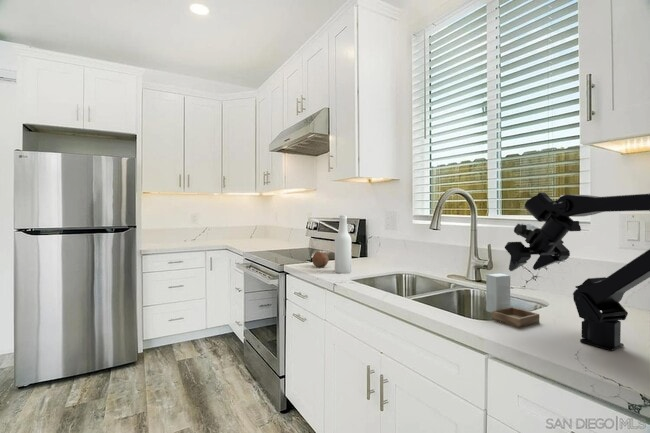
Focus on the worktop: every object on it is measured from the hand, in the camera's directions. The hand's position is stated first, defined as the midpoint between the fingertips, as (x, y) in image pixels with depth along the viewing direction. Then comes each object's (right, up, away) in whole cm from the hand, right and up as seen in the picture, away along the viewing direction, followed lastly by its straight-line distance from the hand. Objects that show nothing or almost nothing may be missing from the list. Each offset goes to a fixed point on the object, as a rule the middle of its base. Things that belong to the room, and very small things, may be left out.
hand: (522, 269), depth 104 cm
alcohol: (-52, -13, +73) cm, 90 cm away
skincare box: (-6, -14, +4) cm, 16 cm away
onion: (-64, -13, +89) cm, 110 cm away
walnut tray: (-5, -14, -5) cm, 16 cm away
